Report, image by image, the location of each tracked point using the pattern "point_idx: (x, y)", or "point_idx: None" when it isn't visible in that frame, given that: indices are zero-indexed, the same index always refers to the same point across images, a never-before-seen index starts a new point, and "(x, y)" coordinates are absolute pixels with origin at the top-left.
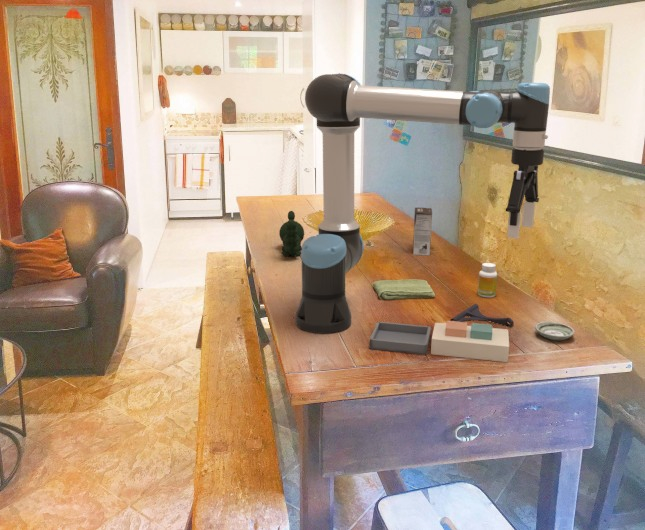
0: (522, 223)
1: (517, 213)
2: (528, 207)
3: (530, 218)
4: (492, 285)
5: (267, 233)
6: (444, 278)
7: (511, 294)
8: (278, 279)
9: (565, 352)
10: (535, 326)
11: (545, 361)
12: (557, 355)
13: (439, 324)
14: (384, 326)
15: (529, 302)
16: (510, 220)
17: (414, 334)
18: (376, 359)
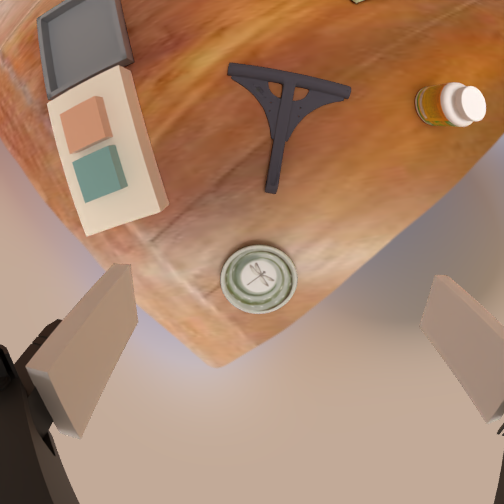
0: (443, 284)
1: (49, 413)
2: (489, 370)
3: (445, 343)
4: (435, 117)
5: None
6: (469, 21)
7: (452, 157)
8: None
9: (194, 302)
10: (250, 247)
11: (139, 279)
12: (174, 293)
13: (113, 77)
14: None
15: (423, 199)
16: (37, 341)
17: (116, 40)
18: (21, 54)
